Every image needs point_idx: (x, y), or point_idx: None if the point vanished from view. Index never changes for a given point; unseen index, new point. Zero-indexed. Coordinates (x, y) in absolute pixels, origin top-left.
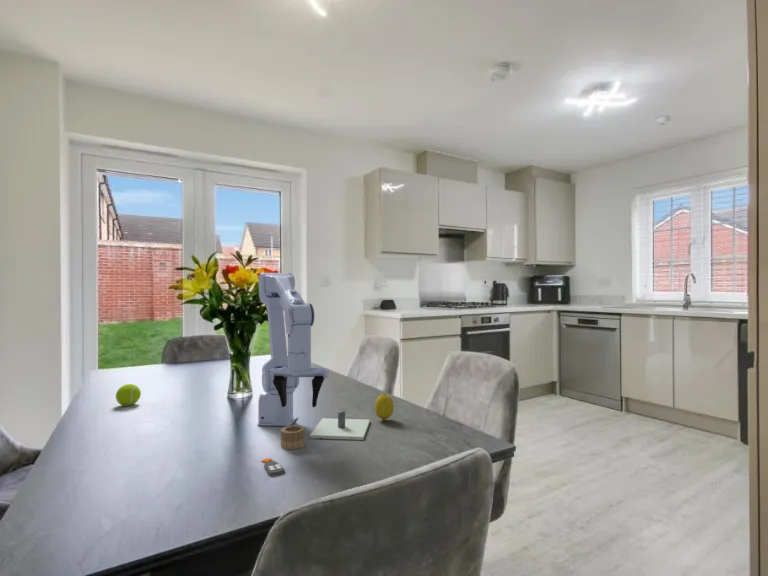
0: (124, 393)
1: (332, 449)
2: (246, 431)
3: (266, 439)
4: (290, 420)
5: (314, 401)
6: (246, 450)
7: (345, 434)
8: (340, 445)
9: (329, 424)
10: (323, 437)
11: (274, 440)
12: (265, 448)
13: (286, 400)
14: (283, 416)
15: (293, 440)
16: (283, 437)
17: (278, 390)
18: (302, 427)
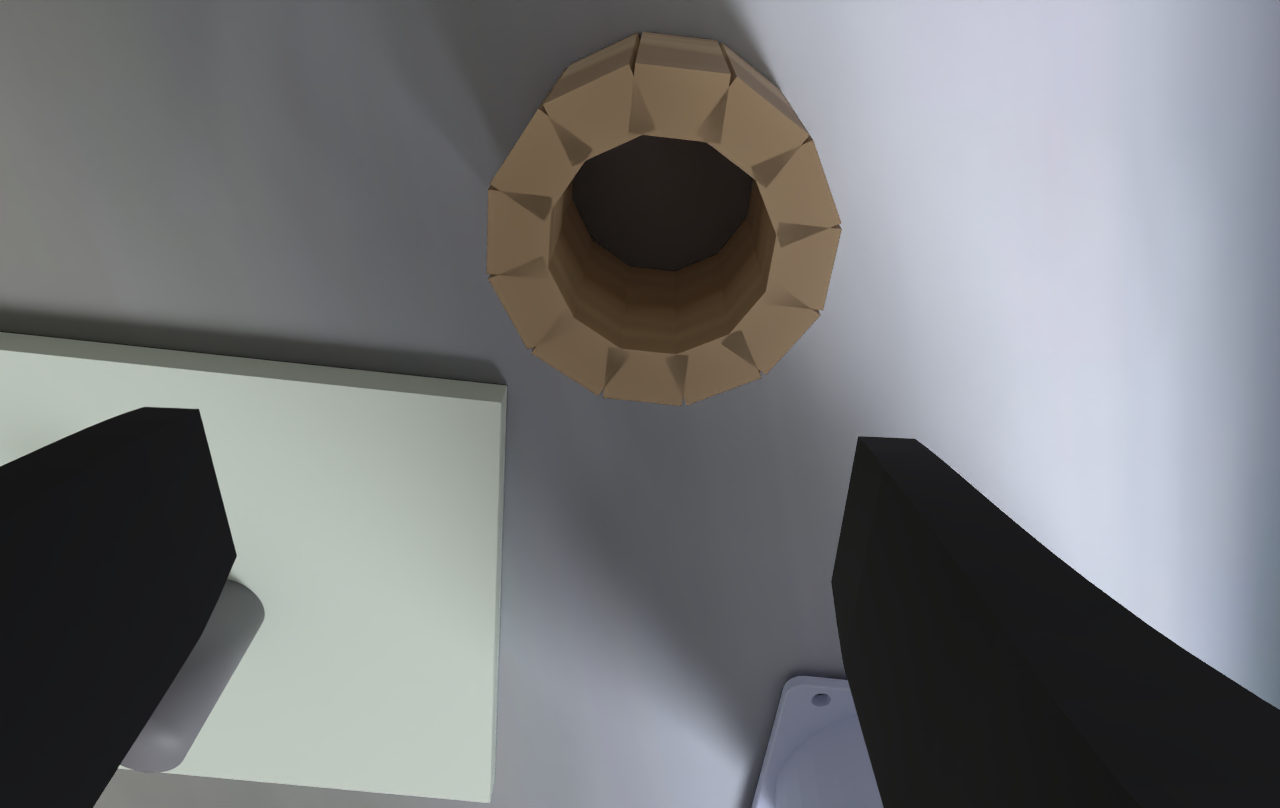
0: None
1: (127, 28)
2: (1228, 580)
3: (1000, 365)
4: (793, 763)
5: (43, 452)
6: (1245, 13)
7: (98, 409)
8: (80, 162)
9: (374, 668)
10: (347, 375)
11: (904, 334)
12: (995, 81)
13: (846, 654)
14: (871, 778)
15: (621, 51)
16: (777, 99)
17: (1249, 722)
18: (530, 312)
